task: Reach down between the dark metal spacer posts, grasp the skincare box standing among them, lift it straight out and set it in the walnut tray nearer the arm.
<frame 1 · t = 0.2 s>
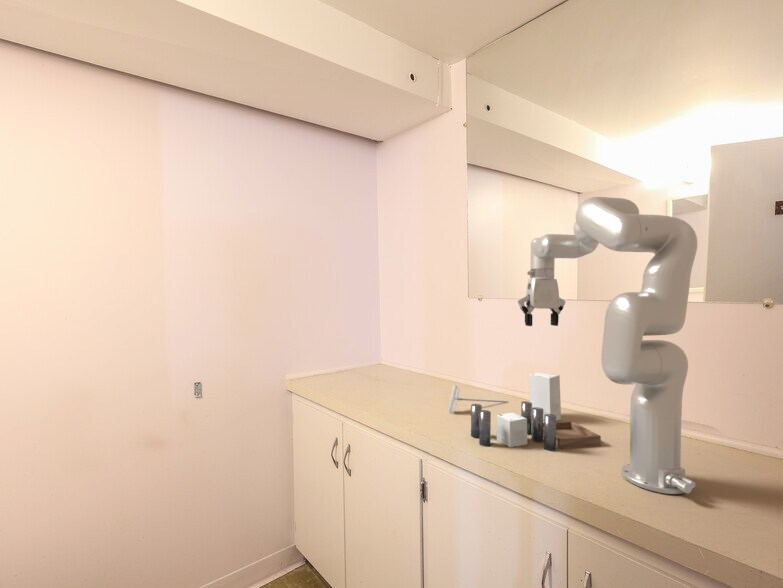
hand: (541, 325, 131), 31 cm above the countertop, tool pointing down, fingers open, 9 cm apart
skincare box 2: (544, 419, 130), on the countertop
skincare box: (511, 443, 109), on the countertop
spacer posts: (511, 442, 109), on the countertop
brush: (478, 408, 141), on the countertop
walnut tray: (565, 438, 112), on the countertop
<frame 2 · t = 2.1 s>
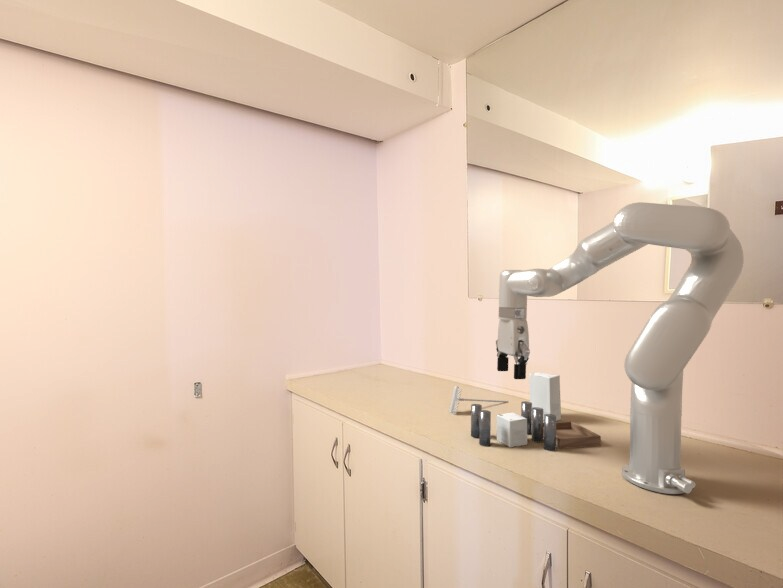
hand: (510, 374, 109), 19 cm above the countertop, tool pointing down, fingers open, 9 cm apart
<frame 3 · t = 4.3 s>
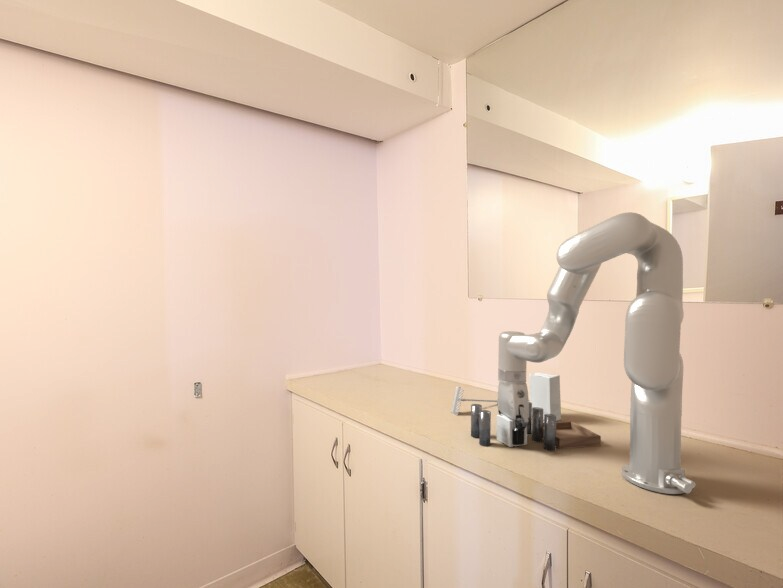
hand: (511, 438, 109), 1 cm above the countertop, tool pointing down, fingers closed on skincare box, 6 cm apart
skincare box: (511, 442, 109), on the countertop, touching gripper
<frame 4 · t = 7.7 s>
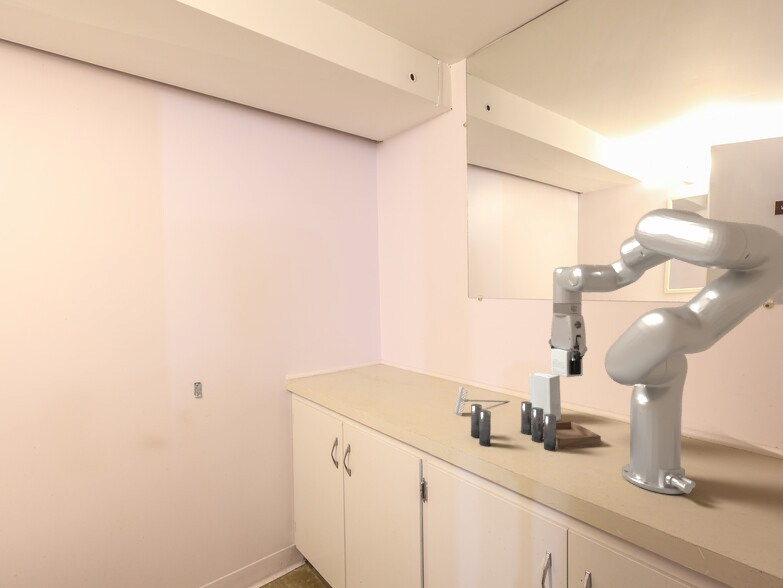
hand: (566, 371, 112), 19 cm above the countertop, tool pointing down, fingers closed on skincare box, 6 cm apart
skincare box: (566, 375, 112), point 18 cm above the countertop, touching gripper
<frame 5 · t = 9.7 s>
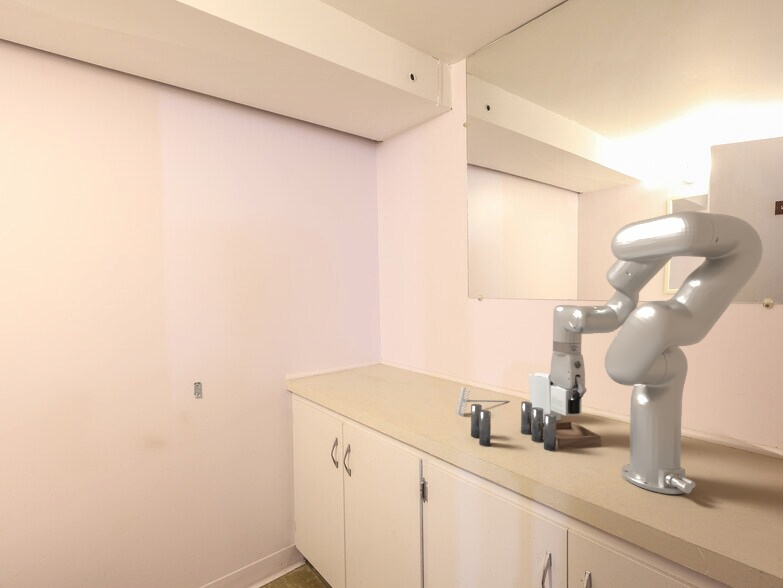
hand: (565, 408, 113), 8 cm above the countertop, tool pointing down, fingers closed on skincare box, 6 cm apart
skincare box: (565, 412, 113), point 7 cm above the countertop, touching gripper
when the fingers open (4 cm above the countertop, at t = 11.2 s): skincare box drops 2 cm, resting on walnut tray.
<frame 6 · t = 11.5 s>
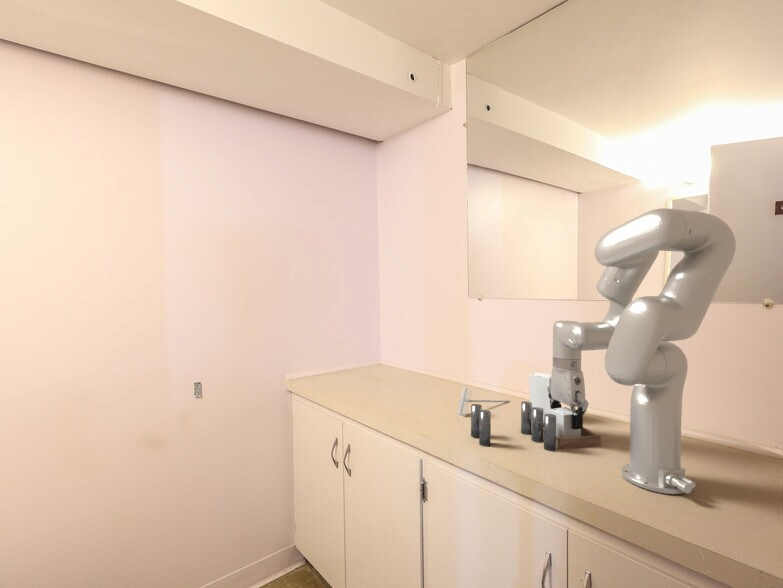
hand: (565, 422, 112), 4 cm above the countertop, tool pointing down, fingers open, 9 cm apart
skincare box: (564, 436, 113), resting on walnut tray
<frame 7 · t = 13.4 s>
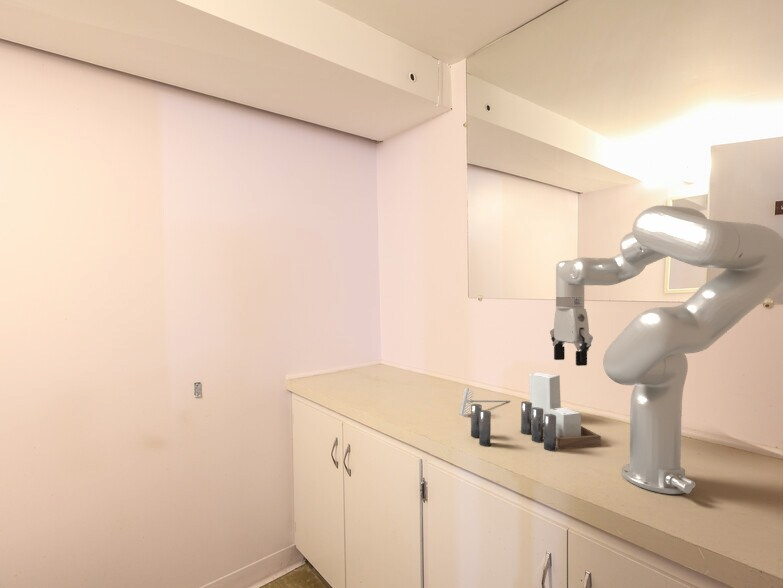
hand: (569, 362, 113), 22 cm above the countertop, tool pointing down, fingers open, 9 cm apart
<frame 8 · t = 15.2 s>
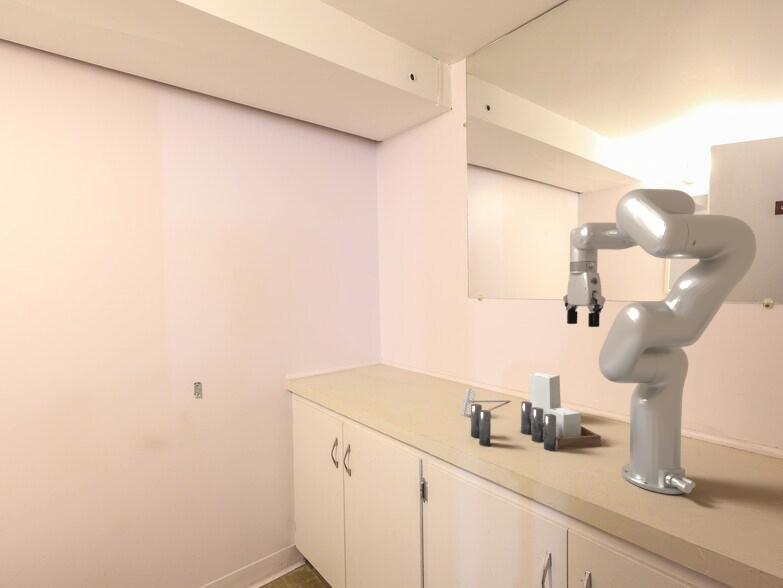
hand: (582, 325, 118), 32 cm above the countertop, tool pointing down, fingers open, 9 cm apart
at the end: skincare box inside the target area on the walnut tray (0.2 cm from its centre), point 0.4 cm above the walnut tray's base; skincare box tilted 0°; the gripper is holding nothing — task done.
